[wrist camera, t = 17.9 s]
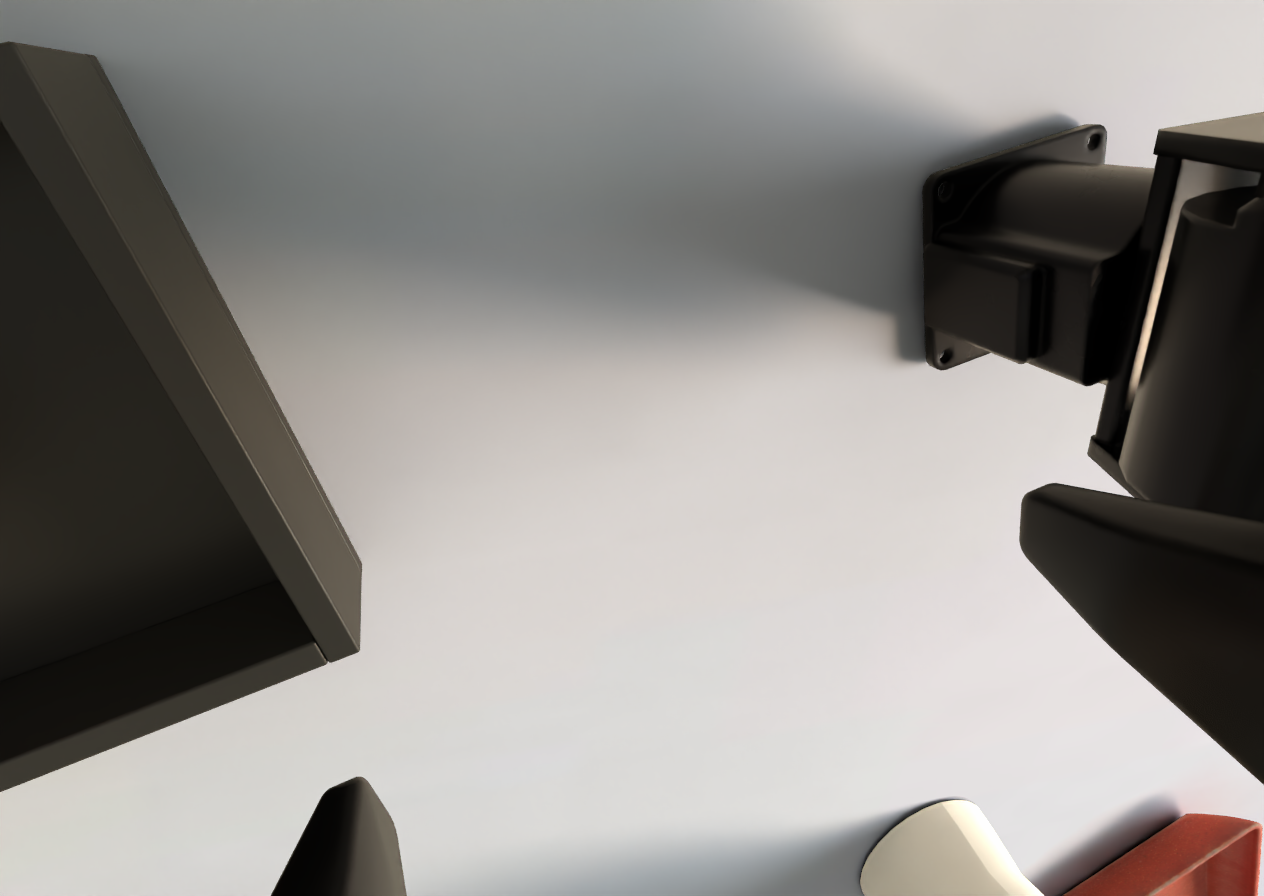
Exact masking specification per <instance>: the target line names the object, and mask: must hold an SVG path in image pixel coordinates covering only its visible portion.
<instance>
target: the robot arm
mask: <svg viewBox="0 0 1264 896" xmlns="http://www.w3.org/2000/svg"><path fill="white" fill-rule="evenodd" d="M1089 138H1090V140H1089ZM1088 140H1089V144H1088V145H1087V143H1088ZM1106 142H1107V131H1106V129H1105V127H1104V126H1102V125H1097V124H1086V125H1082V126H1079V127H1075V128H1072V129H1069V130H1066V131H1063V132H1060V133H1057V134H1053V135H1050V136H1047V137H1044V138H1041V139H1038V140H1035V141H1032V142H1028V143H1025V144H1022V145H1019V146H1016V147H1013V148H1010V149H1006V150H1003V151H1000V152H997V153H994V154H991V155H988V156H985V157H981V158H978V159H975V160H972V161H969V162H966V163H963V164H960V165H956V166H953V167H950V168H947V169H944V170H941V171H938V172H935V173H933V174H932V175H930V176H929V178H928V179H927V180H926V182H925V184H924V186H923V193H922V199H923V250H924V253H923V268H924V319H925V351H926V361H927V363H928V364H929V365H930V366H932V367H934V368H936V369H939V370H946V369H949V368H952V367H954V366H957V365H960V364H962V363H965V362H968V361H970V360H973V359H976V358H978V357H981V356H984V355H986V354H989V353H993V354H996V355H998V356H1001V357H1003V358H1006V359H1008V360H1011V361H1013V362H1016V363H1018V364H1024V363H1029V364H1031V365H1034V366H1036V367H1039V368H1041V369H1044V370H1046V371H1049V372H1051V373H1054V374H1056V375H1059V376H1061V377H1064V378H1066V379H1069V380H1071V381H1074V382H1076V383H1079V384H1081V385H1084V386H1091V385H1093V384H1096V383H1098V382H1099V383H1101V384H1104V385H1106V390H1105V394H1104V399H1103V403H1102V408H1101V412H1100V416H1099V421H1098V425H1097V430H1096V434H1095V435H1093V436H1091V440H1090V444H1089V449H1088V453H1087V454H1088V456H1089V457H1090V458H1091V459H1092V460H1094V461H1095V462H1096V463H1097V464H1098V465H1099V466H1100V467H1101V468H1102V469H1104V470H1105V471H1106V472H1107V473H1108V474H1109V475H1110V476H1111V477H1112V478H1113V479H1115V480H1116V481H1117V482H1118V483H1119V484H1120V485H1121V486H1122V487H1123V488H1125V489H1126V490H1127V491H1128V492H1129V493H1130V494H1131V495H1132V496H1133V497H1134V498H1133V497H1128V496H1123V495H1117V494H1112V493H1107V492H1101V491H1096V490H1090V489H1085V488H1080V487H1074V486H1069V485H1064V484H1058V483H1051V484H1047V485H1045V486H1042V487H1040V488H1037V489H1035V490H1033V491H1030V492H1028V493H1027V494H1025V496H1024V497H1023V499H1022V503H1021V519H1020V536H1019V541H1020V546H1021V549H1022V551H1023V553H1024V554H1025V556H1026V557H1027V559H1028V560H1029V561H1030V562H1031V563H1032V564H1033V565H1034V566H1035V567H1036V569H1037V570H1038V571H1039V572H1040V573H1041V574H1042V575H1043V576H1044V577H1045V578H1046V579H1047V580H1048V581H1049V583H1050V584H1051V585H1052V586H1053V587H1054V588H1055V589H1056V590H1057V591H1058V592H1059V593H1060V594H1061V595H1062V596H1063V598H1064V599H1065V600H1066V601H1067V602H1068V603H1069V604H1070V605H1071V606H1072V607H1073V608H1074V609H1075V610H1076V612H1077V613H1078V614H1079V615H1080V616H1081V617H1082V618H1083V619H1084V620H1085V621H1086V622H1087V623H1088V624H1089V626H1090V627H1091V628H1092V629H1093V630H1094V631H1095V632H1096V633H1097V634H1098V635H1099V636H1100V637H1101V638H1102V639H1103V640H1104V641H1105V642H1106V643H1107V644H1108V645H1109V646H1110V647H1111V648H1112V649H1113V650H1114V651H1115V652H1116V653H1118V654H1119V655H1120V656H1121V657H1122V658H1123V659H1124V660H1125V661H1126V662H1127V663H1128V664H1130V665H1131V666H1132V667H1133V668H1134V669H1135V670H1136V671H1137V672H1139V673H1140V674H1141V675H1142V676H1143V677H1144V678H1145V679H1146V680H1147V681H1149V682H1150V683H1151V684H1152V685H1153V686H1154V687H1155V688H1156V689H1158V690H1159V691H1160V692H1161V693H1162V694H1163V695H1164V696H1165V697H1166V698H1168V699H1169V700H1170V701H1171V702H1172V703H1173V704H1174V705H1175V706H1177V707H1178V708H1179V709H1180V710H1181V711H1182V712H1183V713H1184V714H1185V715H1187V716H1188V717H1189V718H1190V719H1191V720H1192V721H1193V722H1194V723H1196V724H1197V725H1198V726H1199V727H1200V728H1201V729H1202V730H1203V731H1204V732H1206V733H1207V734H1208V735H1209V736H1210V737H1211V738H1212V739H1213V740H1214V741H1216V742H1217V743H1218V744H1219V745H1220V746H1221V747H1222V748H1223V749H1225V750H1226V751H1227V752H1228V753H1229V754H1230V755H1231V756H1232V757H1233V758H1235V759H1236V760H1237V761H1238V762H1239V763H1240V764H1241V765H1242V766H1244V767H1245V768H1246V769H1247V770H1248V771H1249V772H1250V773H1251V774H1252V775H1254V776H1255V777H1256V778H1257V779H1258V780H1259V781H1260V782H1261V783H1263V784H1264V112H1261V113H1254V114H1248V115H1242V116H1236V117H1230V118H1224V119H1218V120H1212V121H1206V122H1200V123H1194V124H1188V125H1182V126H1176V127H1170V128H1164V129H1159V130H1158V135H1157V139H1156V144H1155V148H1154V153H1153V154H1155V155H1158V156H1157V160H1156V165H1155V168H1143V167H1131V166H1119V165H1107V164H1104V162H1105V152H1106ZM942 183H943V186H944V187H943V191H942V193H941V194H940V196H939V195H938V190H939V187H940V185H941V184H942ZM943 351H944V354H943V356H942V357H941V358H940V355H941V353H942V352H943ZM271 896H407V895H406V889H405V882H404V876H403V869H402V863H401V856H400V850H399V843H398V837H397V833H396V829H395V826H394V823H393V820H392V818H391V816H390V815H389V813H388V811H387V810H386V808H385V807H384V805H383V804H382V802H381V801H380V799H379V798H378V796H377V795H376V793H375V791H374V790H373V788H372V787H371V785H370V784H369V782H368V781H367V780H366V779H364V778H363V777H355V778H353V779H350V780H348V781H346V782H343V783H341V784H339V785H336V786H334V787H332V788H330V789H328V790H327V791H326V792H325V793H324V794H323V796H322V797H321V799H320V801H319V803H318V805H317V807H316V809H315V811H314V813H313V814H312V816H311V818H310V820H309V822H308V824H307V826H306V828H305V830H304V832H303V834H302V836H301V838H300V840H299V842H298V844H297V846H296V848H295V849H294V851H293V853H292V855H291V857H290V859H289V861H288V863H287V865H286V867H285V869H284V871H283V873H282V875H281V877H280V879H279V881H278V883H277V884H276V886H275V888H274V890H273V892H272V894H271Z"/></svg>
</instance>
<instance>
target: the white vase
mask: <svg viewBox="0 0 1264 896" xmlns="http://www.w3.org/2000/svg"><path fill="white" fill-rule="evenodd" d="M860 884H861V888H862V892H863V893H864V895H865V896H1044V895H1043V894H1042V893H1041V892H1040V891H1039V890H1038V889H1037V888H1036V887H1035V886H1034V885H1033V884H1032V883H1031V882H1030V881H1029V880H1027V879H1026V878H1025V877H1024V876H1023V875H1022V874H1021V872H1020V871H1019V869H1018V867H1017V866H1016V864H1015V863H1014V861H1013V860H1012V858H1011V856H1010V855H1009V853H1008V852H1007V850H1006V848H1005V847H1004V845H1003V844H1002V842H1001V840H1000V839H999V837H998V836H997V834H996V833H995V831H994V829H993V828H992V826H991V825H990V824H989V822H988V821H987V819H986V818H985V816H984V815H983V814H982V812H981V811H980V809H979V808H978V806H976V805H975V804H973V803H971V802H969V801H963V800H951V801H945V802H940V803H937V804H935V805H932V806H929V807H927V808H924V809H922V810H920V811H919V812H917V813H915V814H913V815H911V816H910V817H908V818H906V819H905V820H904V821H903V822H901V823H900V824H899V825H897V826H896V827H895V828H893V829H892V830H891V831H890V832H889V833H888V834H887V835H886V836H885V837H884V838H883V839H882V840H881V841H880V842H879V843H878V844H877V846H876V847H875V848H874V850H873V851H872V852H871V854H870V855H869V857H868V858H867V861H866V863H865V865H864V867H863V869H862V873H861V880H860Z"/></svg>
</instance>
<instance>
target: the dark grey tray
mask: <svg viewBox="0 0 1264 896" xmlns="http://www.w3.org/2000/svg"><path fill="white" fill-rule="evenodd" d="M361 572H362V563H361V561H360V559H359V557H358V555H357V553H356V551H355V549H354V547H353V545H352V544H351V542H350V540H349V538H348V536H347V534H346V532H345V530H344V528H343V526H342V525H341V523H340V521H339V519H338V517H337V515H336V513H335V511H334V509H333V507H332V505H331V504H330V502H329V500H328V498H327V496H326V494H325V492H324V490H323V488H322V486H321V484H320V483H319V481H318V479H317V477H316V475H315V473H314V471H313V469H312V467H311V465H310V464H309V462H308V460H307V458H306V456H305V454H304V452H303V450H302V448H301V446H300V444H299V443H298V441H297V439H296V437H295V435H294V433H293V431H292V429H291V427H290V425H289V423H288V422H287V420H286V418H285V416H284V414H283V412H282V410H281V408H280V406H279V404H278V403H277V401H276V399H275V397H274V395H273V393H272V391H271V389H270V387H269V385H268V383H267V382H266V380H265V378H264V376H263V374H262V372H261V370H260V368H259V366H258V364H257V362H256V361H255V359H254V357H253V355H252V353H251V351H250V349H249V347H248V345H247V343H246V342H245V340H244V338H243V336H242V334H241V332H240V330H239V328H238V326H237V324H236V322H235V321H234V319H233V317H232V315H231V313H230V311H229V309H228V307H227V305H226V303H225V301H224V300H223V298H222V296H221V294H220V292H219V290H218V288H217V286H216V284H215V282H214V281H213V279H212V277H211V275H210V273H209V271H208V269H207V267H206V265H205V263H204V261H203V260H202V258H201V256H200V254H199V252H198V250H197V248H196V246H195V244H194V242H193V240H192V239H191V237H190V235H189V233H188V231H187V229H186V227H185V225H184V223H183V221H182V220H181V218H180V216H179V214H178V212H177V210H176V208H175V206H174V204H173V202H172V200H171V199H170V197H169V195H168V193H167V191H166V189H165V187H164V185H163V183H162V181H161V179H160V178H159V176H158V174H157V172H156V170H155V168H154V166H153V164H152V162H151V160H150V159H149V157H148V155H147V153H146V151H145V149H144V147H143V145H142V143H141V141H140V139H139V138H138V136H137V134H136V132H135V130H134V128H133V126H132V124H131V122H130V120H129V118H128V117H127V115H126V113H125V111H124V109H123V107H122V105H121V103H120V101H119V99H118V98H117V96H116V94H115V92H114V90H113V88H112V86H111V84H110V82H109V80H108V78H107V77H106V75H105V73H104V71H103V69H102V67H101V65H100V63H99V61H98V59H97V58H96V57H95V56H94V55H88V54H80V53H74V52H68V51H62V50H56V49H50V48H44V47H38V46H32V45H27V44H21V43H15V42H4V43H0V792H2V791H4V790H7V789H9V788H12V787H14V786H17V785H20V784H22V783H25V782H27V781H30V780H32V779H35V778H37V777H40V776H43V775H45V774H48V773H50V772H53V771H55V770H58V769H60V768H63V767H66V766H68V765H71V764H73V763H76V762H78V761H81V760H83V759H86V758H89V757H91V756H94V755H96V754H99V753H101V752H104V751H106V750H109V749H112V748H114V747H117V746H119V745H122V744H124V743H127V742H129V741H132V740H135V739H137V738H140V737H142V736H145V735H147V734H150V733H152V732H155V731H158V730H160V729H163V728H165V727H168V726H170V725H173V724H175V723H178V722H181V721H183V720H186V719H188V718H191V717H193V716H196V715H198V714H201V713H203V712H206V711H209V710H211V709H214V708H216V707H219V706H221V705H224V704H226V703H229V702H232V701H234V700H237V699H239V698H242V697H244V696H247V695H249V694H252V693H255V692H257V691H260V690H262V689H265V688H267V687H270V686H272V685H275V684H278V683H280V682H283V681H285V680H288V679H290V678H293V677H295V676H298V675H301V674H303V673H306V672H308V671H311V670H313V669H316V668H318V667H321V666H324V665H326V664H327V663H328V661H329V662H330V663H332V662H335V661H337V660H340V659H342V658H345V657H347V656H350V655H352V654H355V653H357V652H359V651H360V624H361V576H362V573H361Z"/></svg>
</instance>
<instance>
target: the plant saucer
mask: <svg viewBox="0 0 1264 896" xmlns="http://www.w3.org/2000/svg"><path fill="white" fill-rule="evenodd" d="M1262 829H1263V828H1262V825H1261V824H1260V823H1257V822H1254V821H1250V820H1245V819H1241V818H1235V817H1229V816H1220V815H1209V814H1186V815H1184V816H1182V817H1180V818H1179V819H1178V820H1176V821H1175V822H1173V823H1172V824H1170V825H1169V826H1167V827H1166V828H1164V829H1163V830H1161V831H1160V832H1158V833H1157V834H1155V835H1153V836H1152V837H1150V838H1149V839H1147V840H1146V841H1144V842H1143V843H1141V844H1140V845H1138V846H1137V847H1135V848H1134V849H1132V850H1131V851H1129V852H1128V853H1126V854H1125V855H1123V856H1122V857H1120V858H1119V859H1117V860H1116V861H1114V862H1113V863H1111V864H1110V865H1108V866H1107V867H1105V868H1104V869H1102V870H1101V871H1099V872H1098V873H1096V874H1095V875H1093V876H1091V877H1090V878H1088V879H1087V880H1085V881H1084V882H1082V883H1081V884H1079V885H1078V886H1076V887H1075V888H1073V889H1072V890H1070V891H1069V892H1067V893H1066V894H1064V895H1063V896H1258V882H1259V874H1260V870H1259V868H1260V856H1261V842H1262Z"/></svg>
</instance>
